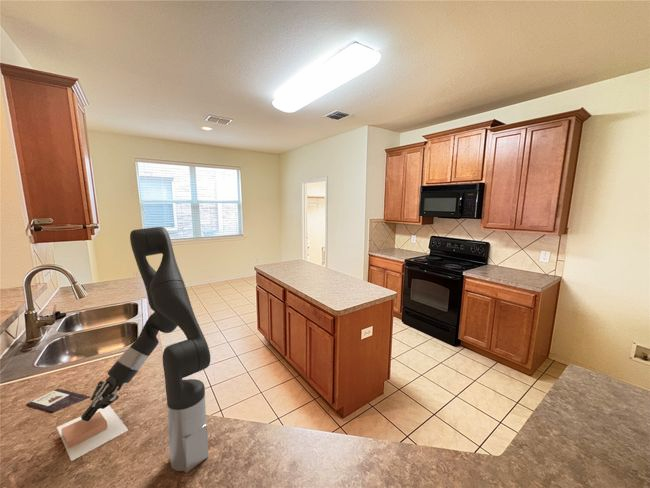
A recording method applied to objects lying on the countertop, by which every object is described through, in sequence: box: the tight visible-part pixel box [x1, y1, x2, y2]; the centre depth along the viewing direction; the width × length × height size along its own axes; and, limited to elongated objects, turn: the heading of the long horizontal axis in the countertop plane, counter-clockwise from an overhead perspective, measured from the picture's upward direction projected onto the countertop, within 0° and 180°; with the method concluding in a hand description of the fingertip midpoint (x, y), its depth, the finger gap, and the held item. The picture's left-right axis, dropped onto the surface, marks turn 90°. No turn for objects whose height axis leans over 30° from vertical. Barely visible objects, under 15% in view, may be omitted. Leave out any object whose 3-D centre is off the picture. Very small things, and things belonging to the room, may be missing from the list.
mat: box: [56, 405, 129, 462], centre depth 81 cm, size 20×13×1 cm, turn 54°
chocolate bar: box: [25, 388, 91, 414], centre depth 95 cm, size 9×1×18 cm
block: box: [61, 411, 107, 448], centre depth 80 cm, size 8×2×9 cm
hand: (84, 419), depth 80 cm, fingers closed
